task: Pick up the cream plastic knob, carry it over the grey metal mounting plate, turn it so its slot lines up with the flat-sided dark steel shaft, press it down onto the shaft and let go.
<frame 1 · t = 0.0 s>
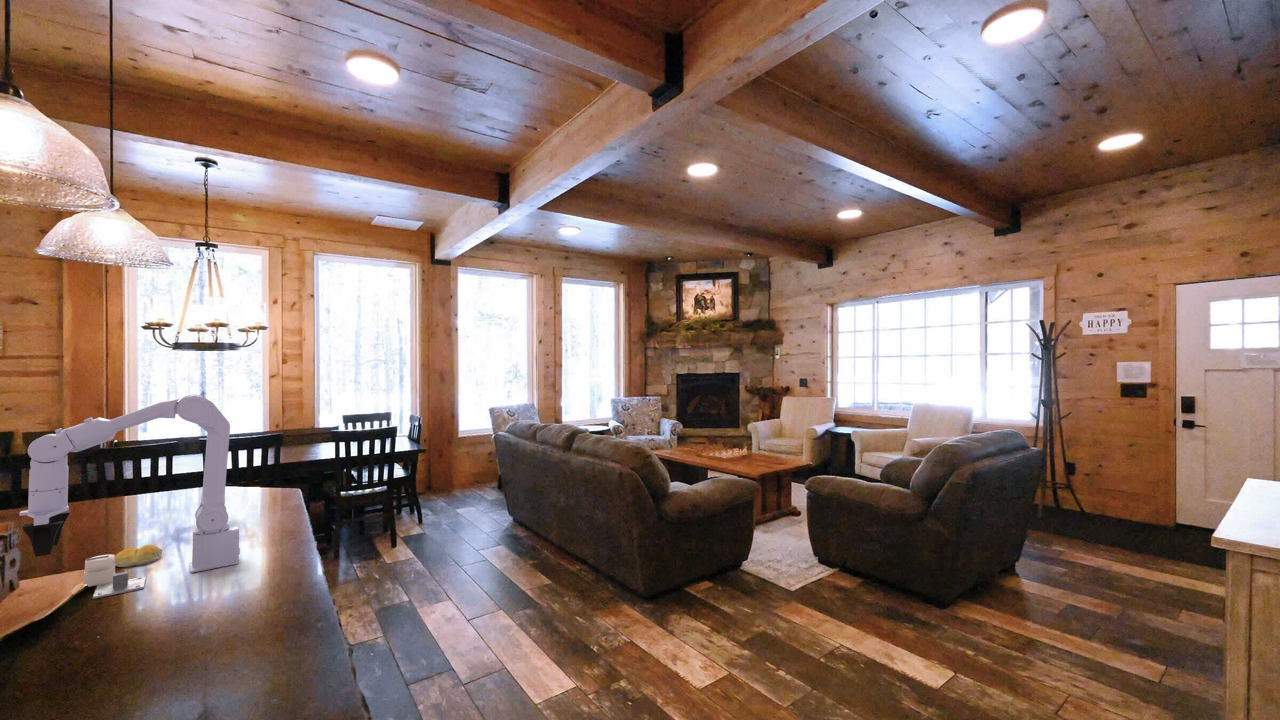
hand: (46, 550, 113), 10 cm above the counter, fingers open, 7 cm apart
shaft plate: (120, 588, 117), on the counter
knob: (99, 582, 120), on the counter
bread roll: (138, 562, 134), on the counter
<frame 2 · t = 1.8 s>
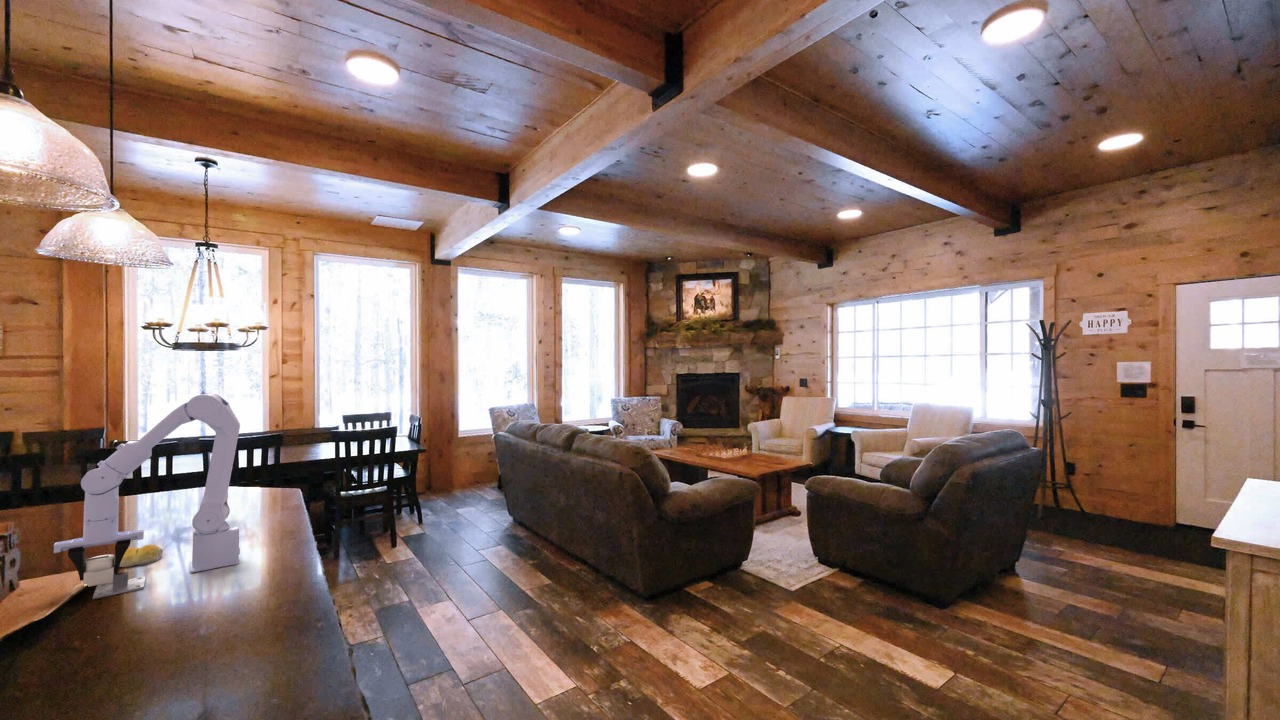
hand: (99, 576, 121), 1 cm above the counter, fingers closed on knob, 5 cm apart
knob: (99, 582, 120), on the counter, touching gripper
everything else where it was.
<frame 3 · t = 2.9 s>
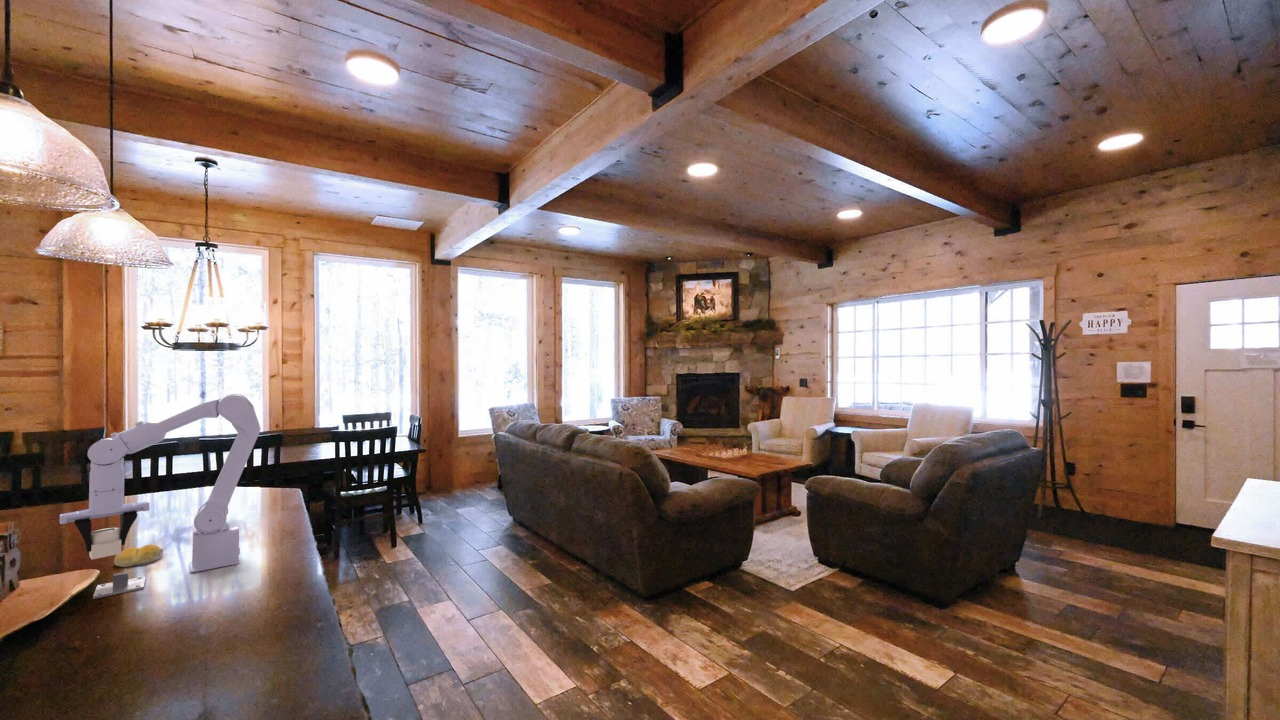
hand: (105, 547, 120), 8 cm above the counter, fingers closed on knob, 5 cm apart
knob: (105, 554, 120), point 7 cm above the counter, touching gripper
everything else where it was.
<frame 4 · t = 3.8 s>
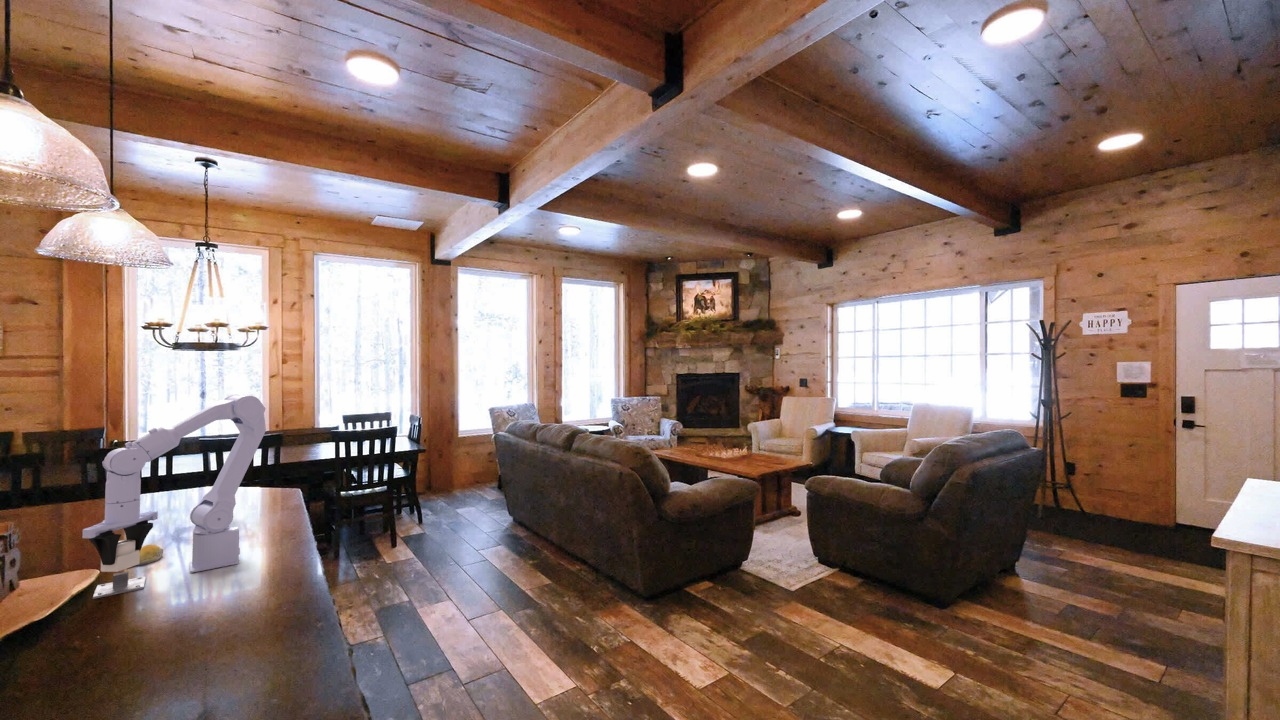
hand: (121, 560, 117), 6 cm above the counter, fingers closed on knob, 5 cm apart
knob: (120, 567, 117), point 5 cm above the counter, touching gripper
everything else where it was.
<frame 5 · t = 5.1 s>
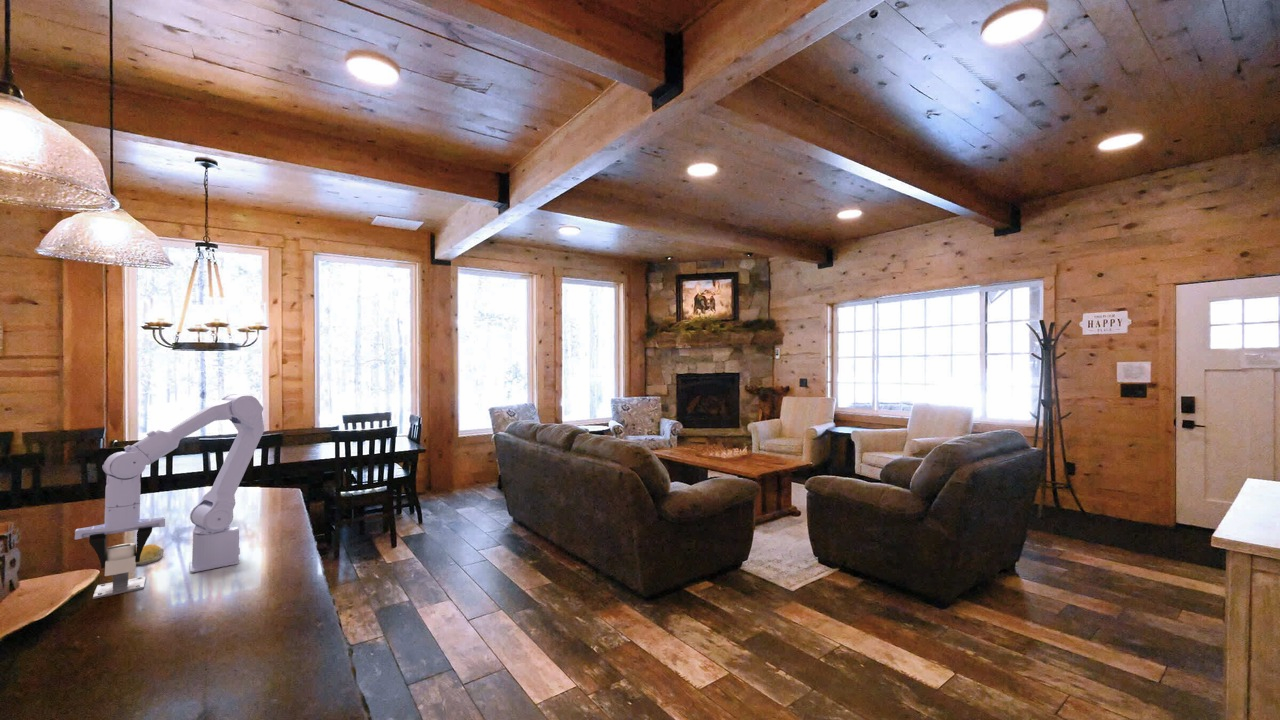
hand: (121, 563, 117), 6 cm above the counter, fingers closed on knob, 5 cm apart
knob: (120, 571, 117), point 4 cm above the counter, touching gripper
everything else where it was.
when the fingers open (3 cm above the counter, at t = 6.1 s): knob stays where it is, resting on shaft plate.
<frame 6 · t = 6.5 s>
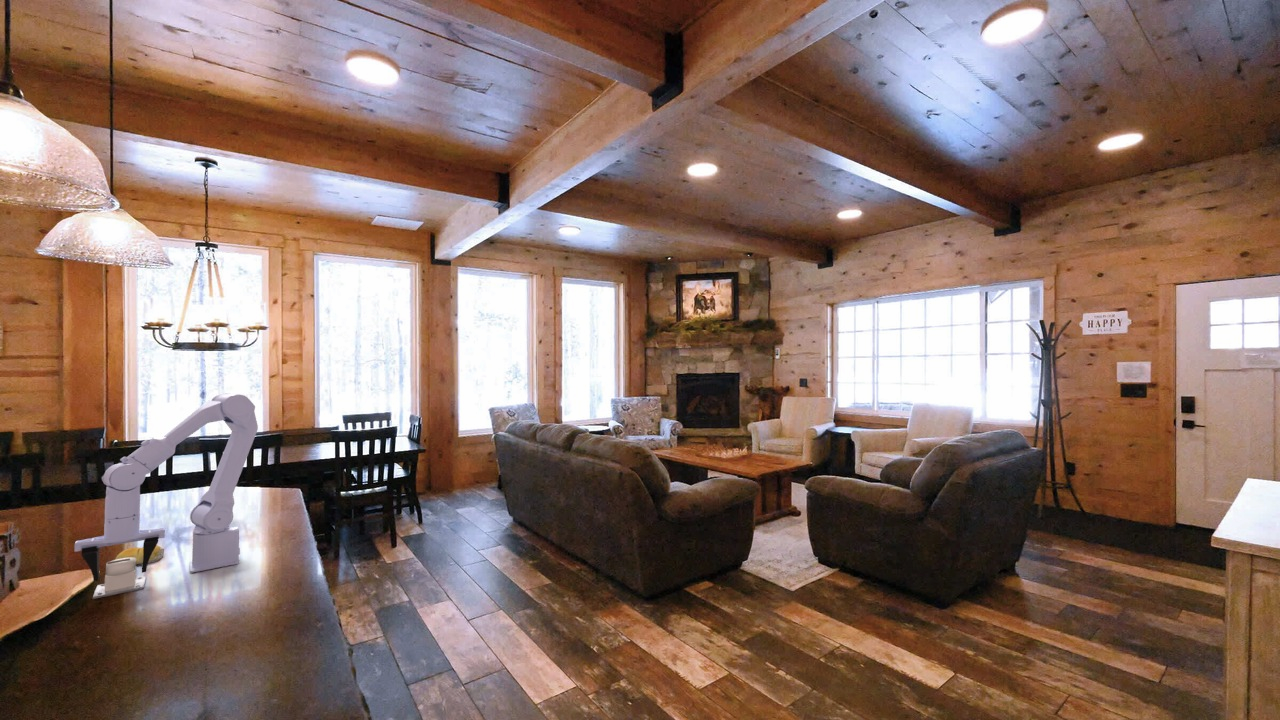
hand: (120, 575, 117), 3 cm above the counter, fingers open, 7 cm apart
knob: (120, 585, 117), resting on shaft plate
everything else where it was.
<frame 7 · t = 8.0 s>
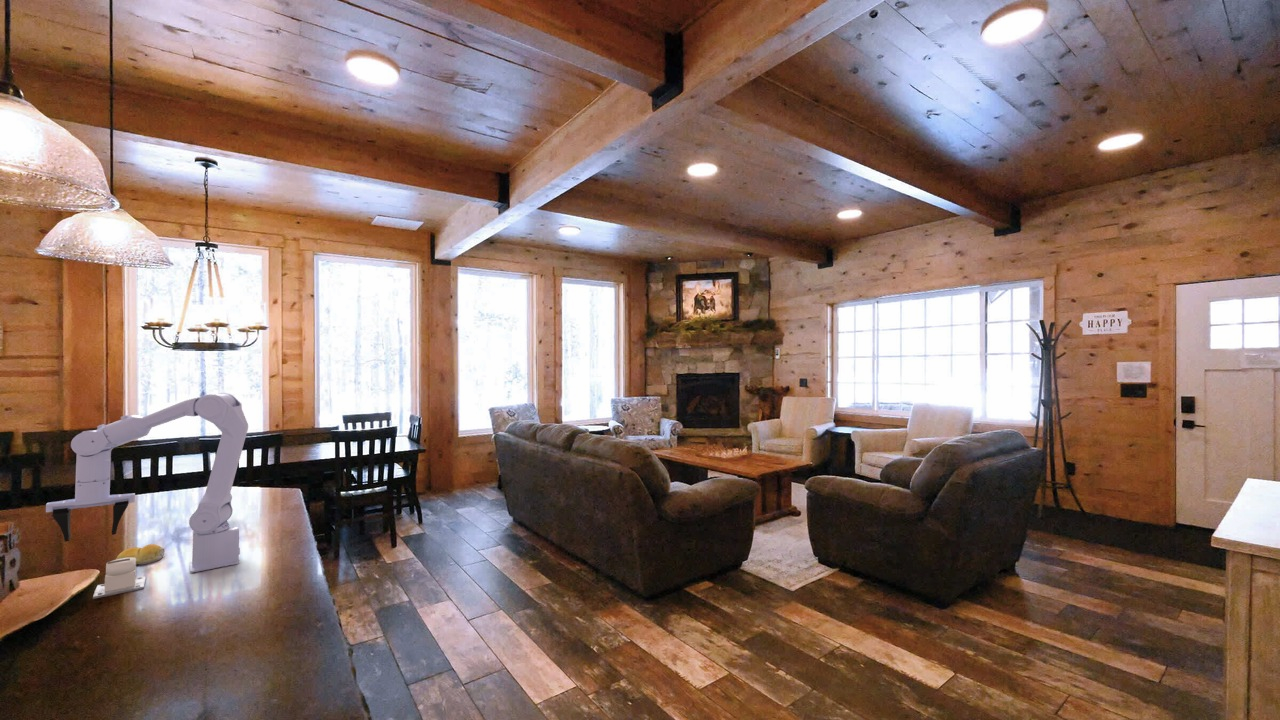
hand: (91, 536, 123), 10 cm above the counter, fingers open, 7 cm apart
nothing on the counter moved.
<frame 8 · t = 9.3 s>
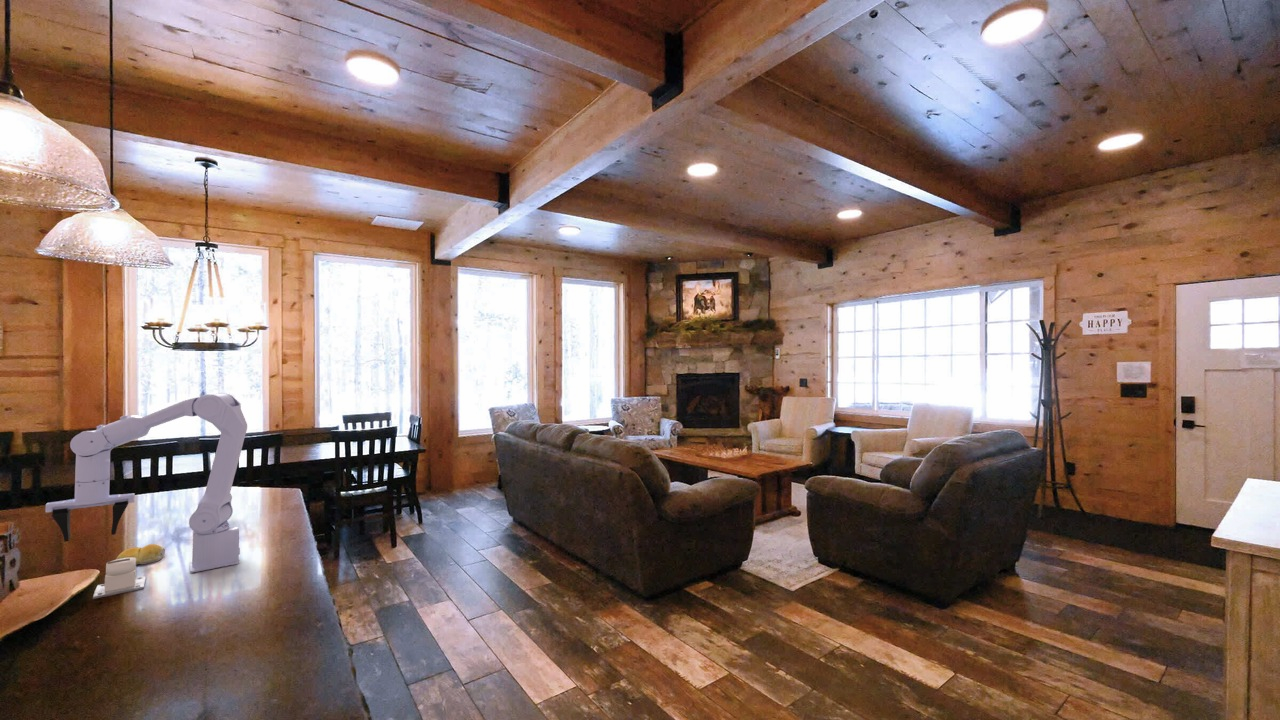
hand: (90, 536, 123), 10 cm above the counter, fingers open, 7 cm apart
nothing on the counter moved.
at the end: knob 0.1 cm off-centre on the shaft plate, point 0.5 cm above the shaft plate's base; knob tilted 0°; the gripper is holding nothing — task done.
